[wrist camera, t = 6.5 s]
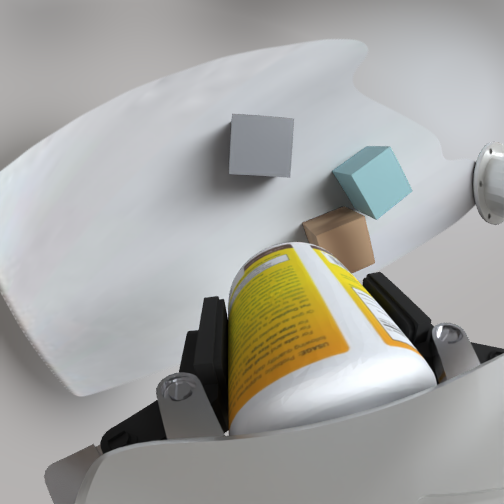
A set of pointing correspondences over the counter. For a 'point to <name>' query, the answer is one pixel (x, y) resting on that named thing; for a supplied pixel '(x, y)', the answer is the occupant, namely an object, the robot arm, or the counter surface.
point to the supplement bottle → (311, 344)
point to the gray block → (261, 145)
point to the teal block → (373, 180)
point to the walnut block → (342, 237)
